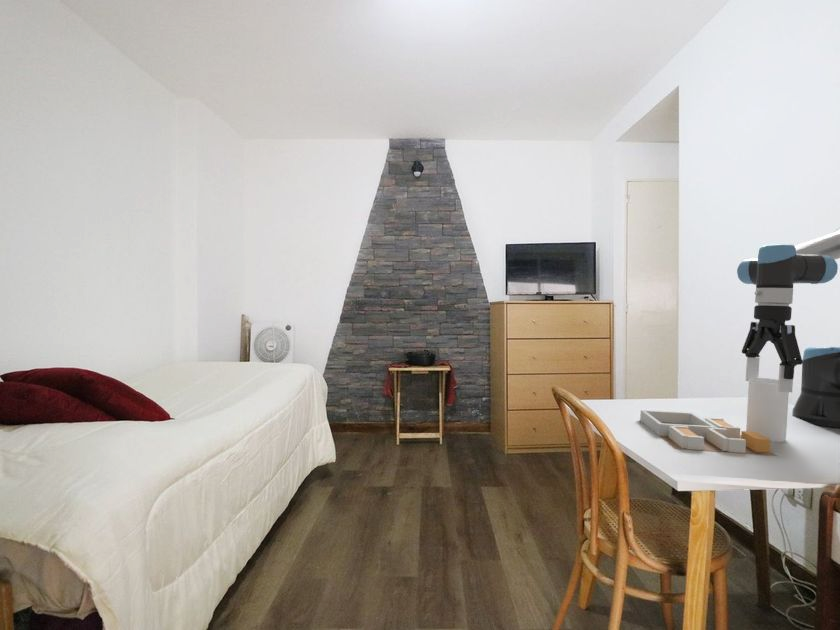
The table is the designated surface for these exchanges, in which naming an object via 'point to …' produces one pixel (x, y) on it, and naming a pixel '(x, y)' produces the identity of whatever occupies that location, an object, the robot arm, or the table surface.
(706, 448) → the panel
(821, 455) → the table surface
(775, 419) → the cup
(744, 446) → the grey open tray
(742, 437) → the block
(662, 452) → the table surface
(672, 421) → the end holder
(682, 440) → the side clips
